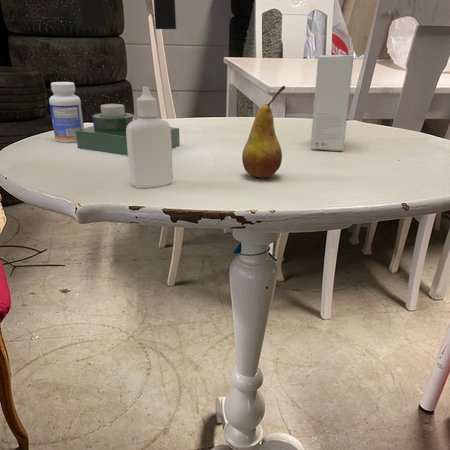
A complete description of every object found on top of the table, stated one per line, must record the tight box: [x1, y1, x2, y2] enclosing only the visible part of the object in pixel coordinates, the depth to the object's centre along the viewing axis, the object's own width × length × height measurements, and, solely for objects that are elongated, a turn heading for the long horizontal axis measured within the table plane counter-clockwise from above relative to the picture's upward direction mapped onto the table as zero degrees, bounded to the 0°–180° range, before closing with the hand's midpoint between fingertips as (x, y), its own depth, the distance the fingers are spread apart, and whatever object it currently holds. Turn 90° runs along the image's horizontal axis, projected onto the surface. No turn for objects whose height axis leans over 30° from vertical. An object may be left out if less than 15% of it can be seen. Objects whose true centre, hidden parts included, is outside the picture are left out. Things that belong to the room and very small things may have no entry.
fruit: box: [241, 85, 286, 179], centre depth 64 cm, size 6×6×12 cm
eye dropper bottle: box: [126, 85, 174, 189], centre depth 60 cm, size 4×6×12 cm
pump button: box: [100, 103, 126, 118], centre depth 81 cm, size 4×4×2 cm
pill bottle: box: [48, 81, 85, 144], centre depth 85 cm, size 5×5×10 cm
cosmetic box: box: [310, 54, 355, 152], centre depth 82 cm, size 8×6×15 cm
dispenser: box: [76, 112, 181, 156], centre depth 81 cm, size 14×11×5 cm
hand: (133, 28), depth 56 cm, fingers open, 13 cm apart
